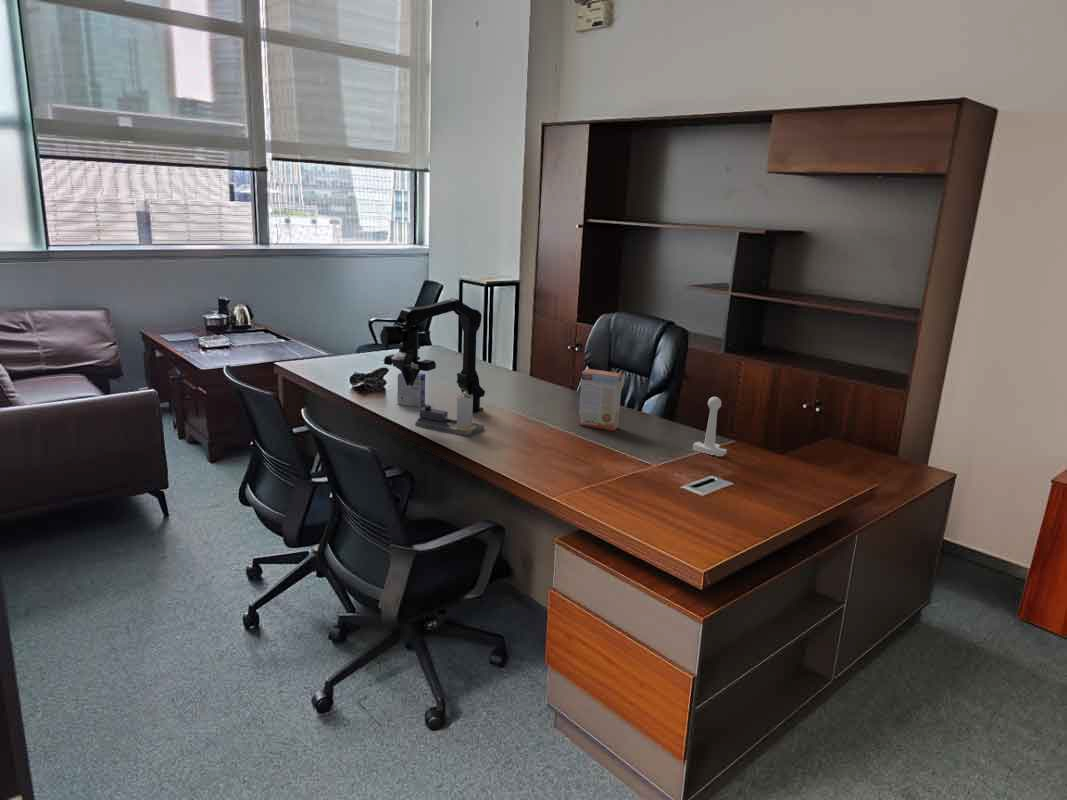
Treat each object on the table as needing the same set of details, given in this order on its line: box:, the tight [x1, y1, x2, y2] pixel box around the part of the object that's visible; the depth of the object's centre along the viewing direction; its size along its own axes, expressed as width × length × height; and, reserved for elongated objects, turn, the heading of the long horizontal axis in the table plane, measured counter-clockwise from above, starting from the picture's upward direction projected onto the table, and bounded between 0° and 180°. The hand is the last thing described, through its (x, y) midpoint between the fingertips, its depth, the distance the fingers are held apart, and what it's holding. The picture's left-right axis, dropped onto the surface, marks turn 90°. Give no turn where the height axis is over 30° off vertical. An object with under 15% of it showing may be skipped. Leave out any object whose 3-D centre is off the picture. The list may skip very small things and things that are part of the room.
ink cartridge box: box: [397, 372, 426, 407], centre depth 288 cm, size 10×6×14 cm, turn 78°
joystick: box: [692, 396, 728, 457], centre depth 250 cm, size 11×8×20 cm
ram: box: [419, 404, 449, 423], centre depth 264 cm, size 4×10×5 cm, turn 66°
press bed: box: [414, 417, 485, 438], centre depth 263 cm, size 10×22×2 cm, turn 66°
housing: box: [456, 392, 473, 429], centre depth 259 cm, size 5×5×12 cm
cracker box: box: [578, 368, 623, 432], centre depth 271 cm, size 14×6×21 cm, turn 65°
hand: (409, 385), depth 266 cm, fingers closed
